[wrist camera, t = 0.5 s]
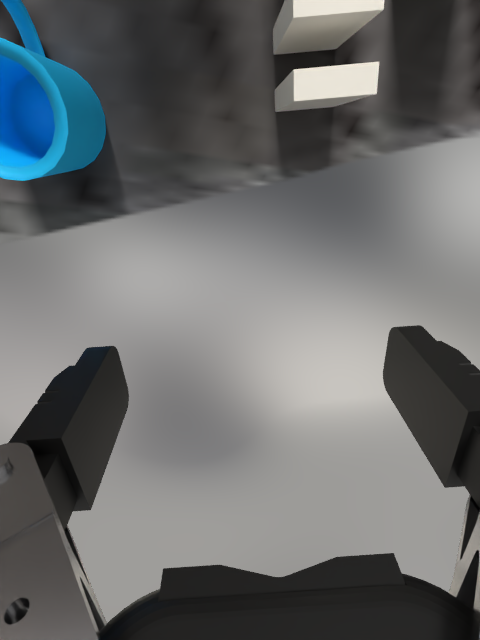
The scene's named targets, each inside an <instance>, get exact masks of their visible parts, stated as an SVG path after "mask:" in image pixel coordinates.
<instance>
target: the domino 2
mask: <svg viewBox="0 0 480 640" xmlns="http://www.w3.org/2000/svg"><path fill="white" fill-rule="evenodd" d="M378 70H379V62H370V63H359V64H348V65H337V66H326V67H315V68H304V69H294V70H293V71H292V72H291V73H290V74H289V75H288V76H287V77H286V78H285V79H284V80H283V81H282V83H281V84H280V85H279V86H278V87H277V88H276V89H275V112H282V111H293V110H305V109H316V108H327V107H335V106H338V105H342V104H345V103H348V102H352V101H355V100H358V99H361V98H365V97H368V96H371V95H375V94H377V83H378Z"/></svg>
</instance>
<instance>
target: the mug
mask: <svg viewBox="0 0 480 640" xmlns="http://www.w3.org/2000/svg"><path fill="white" fill-rule="evenodd" d="M1 1H2V2H3V4H4V5H5V7H6V8H7V10H8V11H9V13H10V14H11V16H12V18H13V20H14V22H15V24H16V26H17V28H18V30H19V32H20V35H21V37H22V40H23V42H24V45H25V47H26V48H23V47H21V46H19V45H17V44H14V43H12V42H10V41H7V40H5V39H3V38H0V177H1V178H4V179H10V180H20V181H26V180H31V179H36V178H40V177H45V176H50V175H55V174H60V173H64V172H69V171H73V170H78V169H82V168H84V167H86V166H87V165H89V164H90V163H91V162H93V161H94V160H95V159H96V157H97V156H98V154H99V153H100V151H101V150H102V148H103V144H104V140H105V136H106V125H105V115H104V112H103V109H102V106H101V103H100V100H99V98H98V97H97V95H96V94H95V92H94V91H93V89H92V88H91V86H90V84H89V83H88V82H87V81H85V80H84V79H83V78H82V77H81V76H80V75H79V74H78V73H77V72H76V71H74V70H72V69H70V68H68V67H66V66H64V65H62V64H60V63H57V62H55V61H53V60H51V59H48V58H46V57H45V54H44V50H43V48H42V45H41V42H40V39H39V37H38V34H37V31H36V29H35V26H34V24H33V22H32V20H31V18H30V16H29V14H28V12H27V9H26V8H25V6H24V5H23V3H22V1H21V0H1Z"/></svg>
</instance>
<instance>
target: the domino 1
mask: <svg viewBox="0 0 480 640" xmlns="http://www.w3.org/2000/svg"><path fill="white" fill-rule="evenodd" d="M382 10H384V0H285V1H284V3H283V6H282V8H281V11H280V13H279V16H278V18H277V21H276V23H275V26H274V28H273V55H277V54H288V53H300V52H311V51H322V50H333V49H337V48H338V47H339V46H340V45H341V44H343V43H344V42H345V41H346V40H347V39H349V38H350V37H351V36H352V35H353V34H355V33H356V32H357V31H358V30H359V29H361V28H362V27H363V26H364V25H365V24H367V23H368V22H369V21H370V20H371V19H373V18H374V17H375V16H376V15H378V14H379V13H380V12H381V11H382Z"/></svg>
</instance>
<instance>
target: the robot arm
mask: <svg viewBox="0 0 480 640" xmlns="http://www.w3.org/2000/svg"><path fill="white" fill-rule="evenodd" d="M383 379H384V385H385V388H386V391H387V393H388V395H389V396H390V398H391V400H392V401H393V403H394V404H395V406H396V408H397V409H398V411H399V413H400V414H401V416H402V417H403V419H404V421H405V422H406V424H407V426H408V427H409V429H410V431H411V432H412V434H413V436H414V437H415V439H416V441H417V442H418V444H419V446H420V447H421V449H422V451H423V452H424V454H425V455H426V457H427V459H428V461H429V462H430V464H431V465H432V467H433V469H434V470H435V472H436V474H437V475H438V477H439V479H440V480H441V482H442V483H443V485H444V487H460V486H465V487H466V489H467V490H468V492H469V493H470V495H469V498H468V501H467V504H466V509H465V515H464V521H463V526H462V532H461V538H460V543H459V549H458V555H457V560H456V566H455V571H454V575H453V580H452V583H451V587H450V590H449V593H448V592H446V591H444V590H443V589H441V588H439V587H437V586H435V585H433V584H431V583H428V582H426V581H424V580H421V579H418V578H415V577H412V576H409V575H406V574H401V571H400V568H399V566H398V563H397V561H396V558H395V556H394V553H390V554H374V555H359V556H346V557H336V558H333V559H330V560H328V561H325V562H322V563H320V564H317V565H315V566H312V567H309V568H307V569H304V570H301V571H298V572H296V573H293V574H291V575H288V576H285V577H272V576H268V575H263V574H259V573H254V572H250V571H245V570H241V569H236V568H231V567H227V566H222V565H211V566H196V567H181V568H167V569H163V574H162V581H161V588H160V589H159V590H156V591H154V592H151V593H149V594H148V595H146V596H144V597H142V598H140V599H138V600H137V601H135V602H133V603H132V604H130V605H129V606H128V607H126V608H124V609H123V610H122V611H121V612H120V613H119V614H117V615H116V616H115V617H114V618H112V619H111V620H110V621H109V622H108V623H107V622H106V620H105V617H104V615H103V612H102V610H101V608H100V606H99V603H98V601H97V598H96V596H95V594H94V591H93V589H92V586H91V583H90V581H89V578H88V576H87V573H86V571H85V568H84V566H83V563H82V561H81V558H80V555H79V553H78V550H77V548H76V545H75V543H74V540H73V537H72V535H71V532H70V530H69V528H68V526H67V524H68V521H69V519H70V516H71V514H72V512H73V511H82V510H91V508H92V505H93V502H94V499H95V497H96V494H97V491H98V488H99V486H100V483H101V480H102V477H103V475H104V472H105V469H106V466H107V464H108V461H109V458H110V455H111V453H112V450H113V447H114V444H115V442H116V439H117V436H118V433H119V430H120V428H121V425H122V422H123V419H124V417H125V414H126V411H127V408H128V401H129V394H128V387H127V383H126V380H125V376H124V372H123V368H122V365H121V361H120V357H119V354H118V351H117V349H116V347H114V346H105V347H91V348H87V349H86V350H85V351H84V353H83V354H82V356H81V357H80V359H79V360H78V362H77V363H76V365H75V366H69V367H67V368H66V369H65V370H64V371H62V372H61V373H60V374H58V375H57V376H56V377H54V379H53V380H52V381H51V383H50V384H49V386H48V387H47V389H46V390H45V393H43V394H42V396H41V397H40V399H39V400H38V404H36V405H35V406H34V407H33V408H32V410H31V411H30V413H29V414H28V416H27V417H26V419H25V420H24V422H23V423H22V424H21V426H20V427H19V428H18V430H17V431H16V433H15V434H14V436H13V437H12V438H11V440H10V441H9V443H7V444H3V445H0V640H480V370H479V369H478V368H477V367H475V366H474V365H471V362H470V361H469V360H468V359H467V358H466V357H465V356H464V355H463V354H462V353H461V352H460V351H459V350H457V349H455V348H453V347H451V346H449V345H448V344H446V343H444V342H442V341H436V340H435V339H434V338H433V337H432V336H431V335H430V334H429V333H428V332H427V331H426V330H425V329H424V328H423V327H422V326H405V327H393V328H392V329H391V330H390V332H389V337H388V343H387V350H386V356H385V363H384V369H383Z"/></svg>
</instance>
